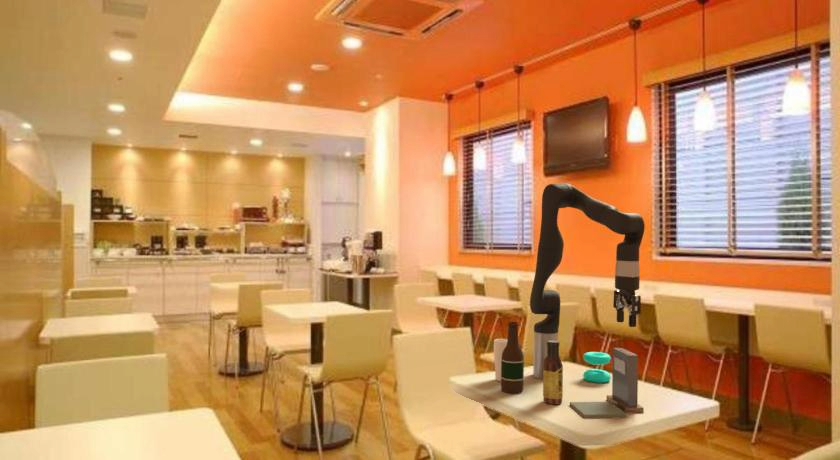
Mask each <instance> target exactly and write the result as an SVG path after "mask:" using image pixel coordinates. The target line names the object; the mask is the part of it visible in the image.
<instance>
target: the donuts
mask: <svg viewBox="0 0 840 460" xmlns="http://www.w3.org/2000/svg"><path fill="white" fill-rule="evenodd" d="M582 358H583V360H584V361H585V362H586V363H587V364H589V365H597V366H603V365H607V364H609V363H610V362H611V360H612V357H611V356H610V354H608V353H606V352H601V351H589V352H588V351H587V352H585V353H584V354H583V356H582ZM582 377H583V379H584V380H585V381H587V382H590V383H597V384H603V383H608V382H610V380H611V379H612V376H611V374H610V373H609V372H608V371H606V370H604V369H596V368H592V369H591V368H590V369H588V370H585V371H583V374H582Z"/></svg>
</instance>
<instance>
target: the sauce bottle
mask: <svg viewBox="0 0 840 460" xmlns="http://www.w3.org/2000/svg"><path fill="white" fill-rule="evenodd" d="M563 370H564V367H563V363H562V360H561V357H560V341H559V340H558V341H547V357H546V358H545V360H544V370H543V380H542V385H543V386H542V396H543V402H544V403H545V404H548V405H560V404H562V402H563V395H564V394H563V393H564V392H563V391H564V389H563V387H564V385H563V383H564V382H563V381H564V380H563V379H564V375H563V373H564V371H563Z"/></svg>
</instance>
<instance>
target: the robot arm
mask: <svg viewBox="0 0 840 460" xmlns="http://www.w3.org/2000/svg"><path fill="white" fill-rule="evenodd" d="M566 208H572V209H577V210H579V211H581V212H583V214H584V215H585V217H587V218H589V220H591V221H594V222H596V223H597V224H600V225H602V226H605V227H606V228H608V229H609V230H611V231H612V232H613V233H616V234H617V235H623V236H624V238H623V240H622V241H621V242H619V243H617V245H616V252H615V253H616V255H615V257H616V258H615V266H614V268H615V269H614V270H615V271H614V288H615V289H616V290H615V289H614V291H613V304H612V306H613V308H615V311H616V322H617V323H624V322H625V309H626V310H627V312H628V327H630V328H636V327H637V316H638V315H641V313H642V306H641V305H642V304H641V303H642V302H641V299H642V297H641V295H640V294H636V291H638V290H640V276H641V275H640V273H641V268H640V248H641V244H642V241H643V237H644V234H645V230H646V229H645V225H646V224H645V221H644V219H643V217H642V216H641V215H640V214H639V213H635V212H633V213H632V212H629V213H628V212H621V211H619V209H618V208H616V206H614V205H611V204H608V203H606V202H604V201H600V200H598V199H596V198H594V197H591V196H589V195H588V194H586V193H584V192H583V191H581V190H580V189H578V188H576V187H575V186H574V185H572V184H570V183H568V182H567V183H566V182H557V183H549V184H547V185H546V186H545V187H544V189H543V192H542V196H541V220H540V221H541V222H540V229H539V230H540V231H539V240H538V246H537V254H536V255H537V257H536V264H535V272H534V278H533V284H532V288H531V292H530V297H529V308H530V311H531V313H532V314H534V315H547V316H546V317H545V318H544V319H542V320H541V321H539V322H536V323H534V325H533V375H532V376H533V377H535V378H536V379H543V370H544V360H545V358H546V357H547V341H559V328H560V315H561V297H560V293H559V292H558V291H557V290H555V289H551V290H549V289H545V287H546V284H547V282H548V280H549V279H550V278H551V276H552V274H553V273H554V272H555V271H556V270H557V268H558V267H559V266H560V264H561V262H562V260H563V256H564V255H563V253H564V249H565V248H564V245H565V244H564V243H565V242H564V239H563V236H562V233H561V231H560V228H559V224H558V217H559V216H558V215H559V210H560V209H566Z"/></svg>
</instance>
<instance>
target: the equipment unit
mask: <svg viewBox="0 0 840 460" xmlns="http://www.w3.org/2000/svg"><path fill="white" fill-rule="evenodd" d="M638 374H639V355H638V354H636V353H634V352H631V351H630V350H628V349H625V348H624V347H623V348H622V347H612V376H611V379H612V380H611V381H612V382H611V383H612V384H611V385H612V386H611V387H612V388H611V392H612V393H611V394H610V395H608V394H607V395H606V402H610V403H612V404H613V405H614V406H616V407H617V408H619V409H620V410H621V411H623V412H624V413H626V414H627V413H629V414H630V413H631V414H632V413H633V414H634V413H636V414H637V413H644V407H643V406H642V405H640V404H638V397H639V396H638V392H639V390H638V389H639V386H638V383H639V382H638V381H639V379H638V378H639V375H638Z"/></svg>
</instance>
